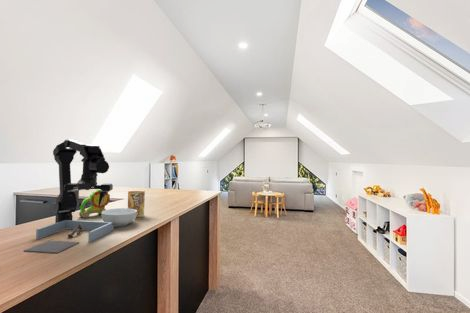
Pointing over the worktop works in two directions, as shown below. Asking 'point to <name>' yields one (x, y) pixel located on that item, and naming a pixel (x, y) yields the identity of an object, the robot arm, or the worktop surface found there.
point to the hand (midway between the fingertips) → (88, 205)
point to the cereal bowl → (119, 216)
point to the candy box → (136, 201)
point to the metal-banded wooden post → (76, 231)
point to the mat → (51, 246)
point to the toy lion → (94, 204)
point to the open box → (96, 227)
